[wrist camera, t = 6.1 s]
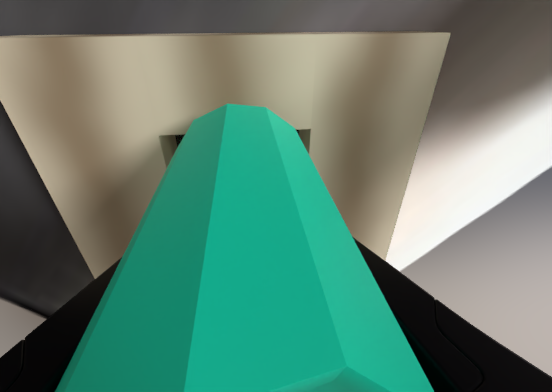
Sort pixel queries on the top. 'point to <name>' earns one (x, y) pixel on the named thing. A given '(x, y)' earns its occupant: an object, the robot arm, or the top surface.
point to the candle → (243, 280)
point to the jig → (205, 98)
